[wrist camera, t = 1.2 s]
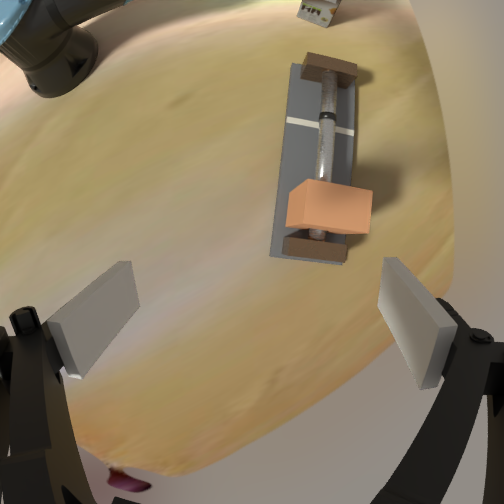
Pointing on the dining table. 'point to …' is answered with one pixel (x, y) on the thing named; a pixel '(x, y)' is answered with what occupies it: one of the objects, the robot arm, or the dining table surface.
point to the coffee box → (318, 11)
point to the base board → (310, 152)
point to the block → (329, 208)
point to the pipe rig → (323, 148)
